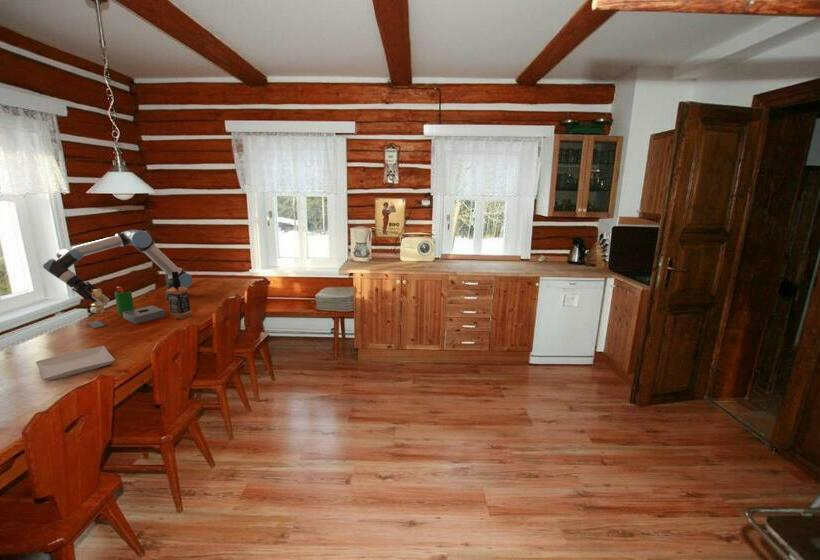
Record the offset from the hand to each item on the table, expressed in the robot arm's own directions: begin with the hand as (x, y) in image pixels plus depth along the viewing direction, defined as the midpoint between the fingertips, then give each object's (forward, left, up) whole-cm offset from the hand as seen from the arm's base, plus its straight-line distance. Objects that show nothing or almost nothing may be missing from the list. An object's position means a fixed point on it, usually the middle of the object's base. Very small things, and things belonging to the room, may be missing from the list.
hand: (104, 302), depth 249 cm
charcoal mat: (+2, -2, -14) cm, 15 cm away
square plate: (+33, +59, -15) cm, 69 cm away
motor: (-15, -13, -14) cm, 25 cm away
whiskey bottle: (-33, +26, -14) cm, 45 cm away
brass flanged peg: (+3, -2, -6) cm, 7 cm away
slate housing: (-17, +11, -14) cm, 25 cm away
